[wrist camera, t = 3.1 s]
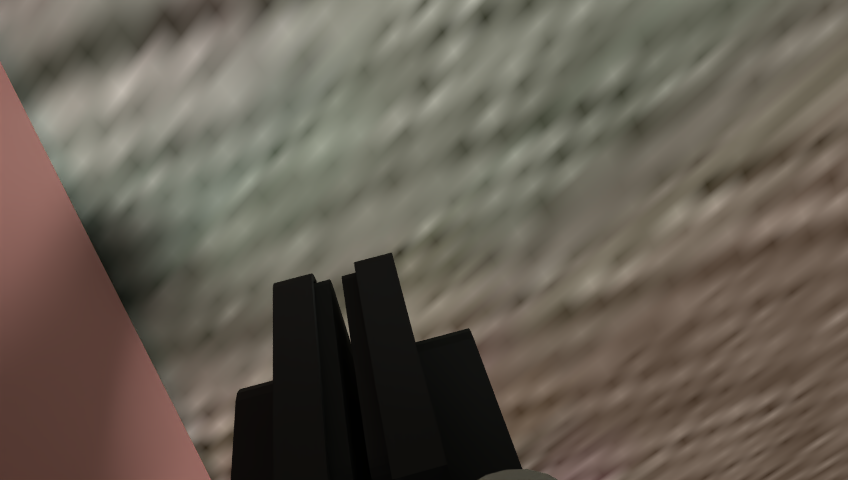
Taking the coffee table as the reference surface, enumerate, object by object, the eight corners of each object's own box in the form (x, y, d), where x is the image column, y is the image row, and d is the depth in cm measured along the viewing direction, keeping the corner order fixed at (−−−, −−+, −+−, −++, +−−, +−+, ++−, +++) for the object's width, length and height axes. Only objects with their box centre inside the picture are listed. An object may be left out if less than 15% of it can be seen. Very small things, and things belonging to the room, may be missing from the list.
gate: (-188, -114, 12) (-834, 34, 5) (-94, -136, 12) (-603, -21, 5) (196, 564, 22) (157, 952, 14) (249, 549, 22) (236, 929, 14)
